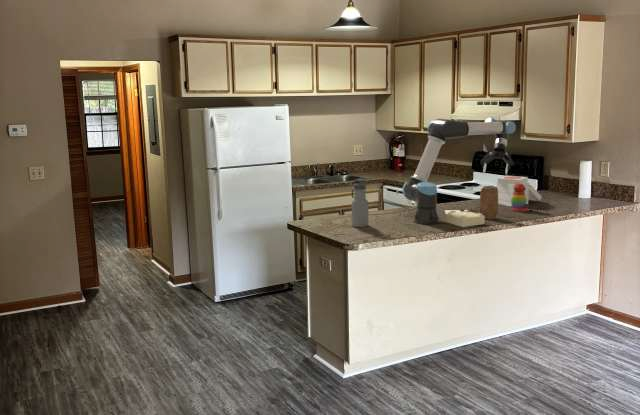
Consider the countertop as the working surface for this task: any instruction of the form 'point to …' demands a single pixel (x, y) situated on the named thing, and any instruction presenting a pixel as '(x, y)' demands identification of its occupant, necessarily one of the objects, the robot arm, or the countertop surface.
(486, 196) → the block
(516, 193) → the stacking bear
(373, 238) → the countertop surface
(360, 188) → the water bottle
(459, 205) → the countertop surface
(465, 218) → the cream knobbed square piece
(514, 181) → the white storage box
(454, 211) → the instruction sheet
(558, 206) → the countertop surface
